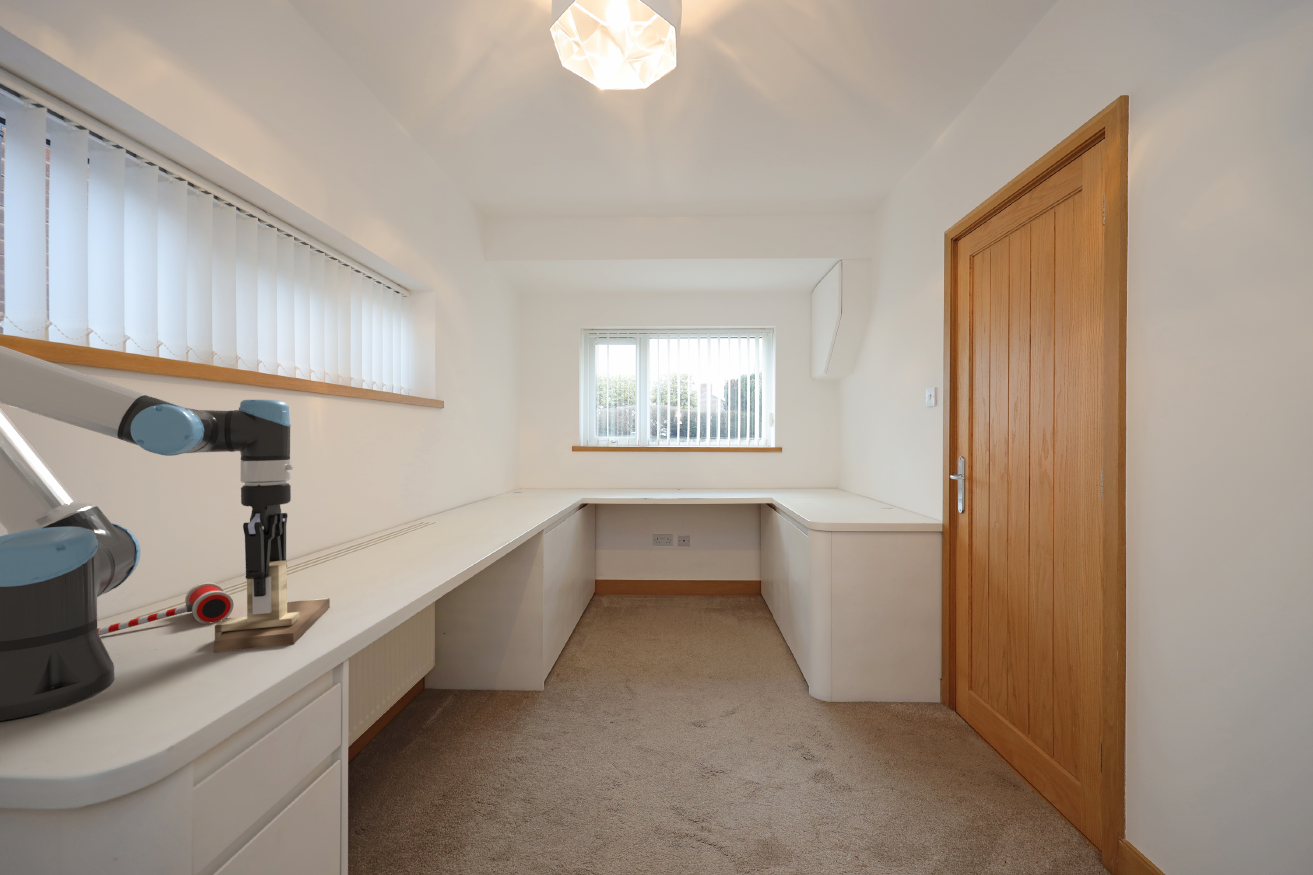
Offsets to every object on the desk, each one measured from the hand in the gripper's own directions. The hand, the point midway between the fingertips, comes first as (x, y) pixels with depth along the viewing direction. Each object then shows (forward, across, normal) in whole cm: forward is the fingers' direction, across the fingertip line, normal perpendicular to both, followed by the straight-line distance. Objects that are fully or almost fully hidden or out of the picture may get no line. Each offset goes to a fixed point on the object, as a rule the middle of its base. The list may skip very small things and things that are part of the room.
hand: (267, 608), depth 102 cm
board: (+5, +5, 0) cm, 7 cm away
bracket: (+5, 0, +2) cm, 5 cm away
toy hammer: (+6, +14, +22) cm, 26 cm away
